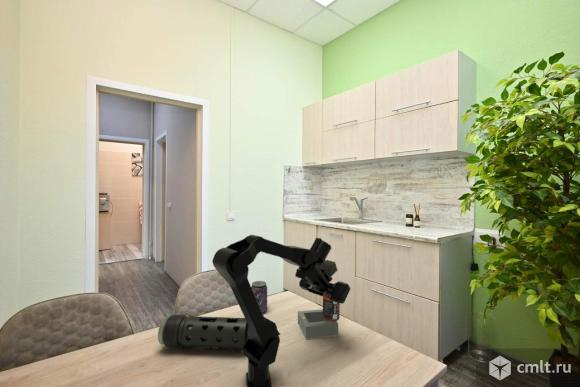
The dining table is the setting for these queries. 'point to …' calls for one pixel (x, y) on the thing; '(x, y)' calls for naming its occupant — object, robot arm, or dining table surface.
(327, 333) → the socket housing
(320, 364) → the dining table surface
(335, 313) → the supplement bottle
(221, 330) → the muzzle brake
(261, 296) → the beverage can
